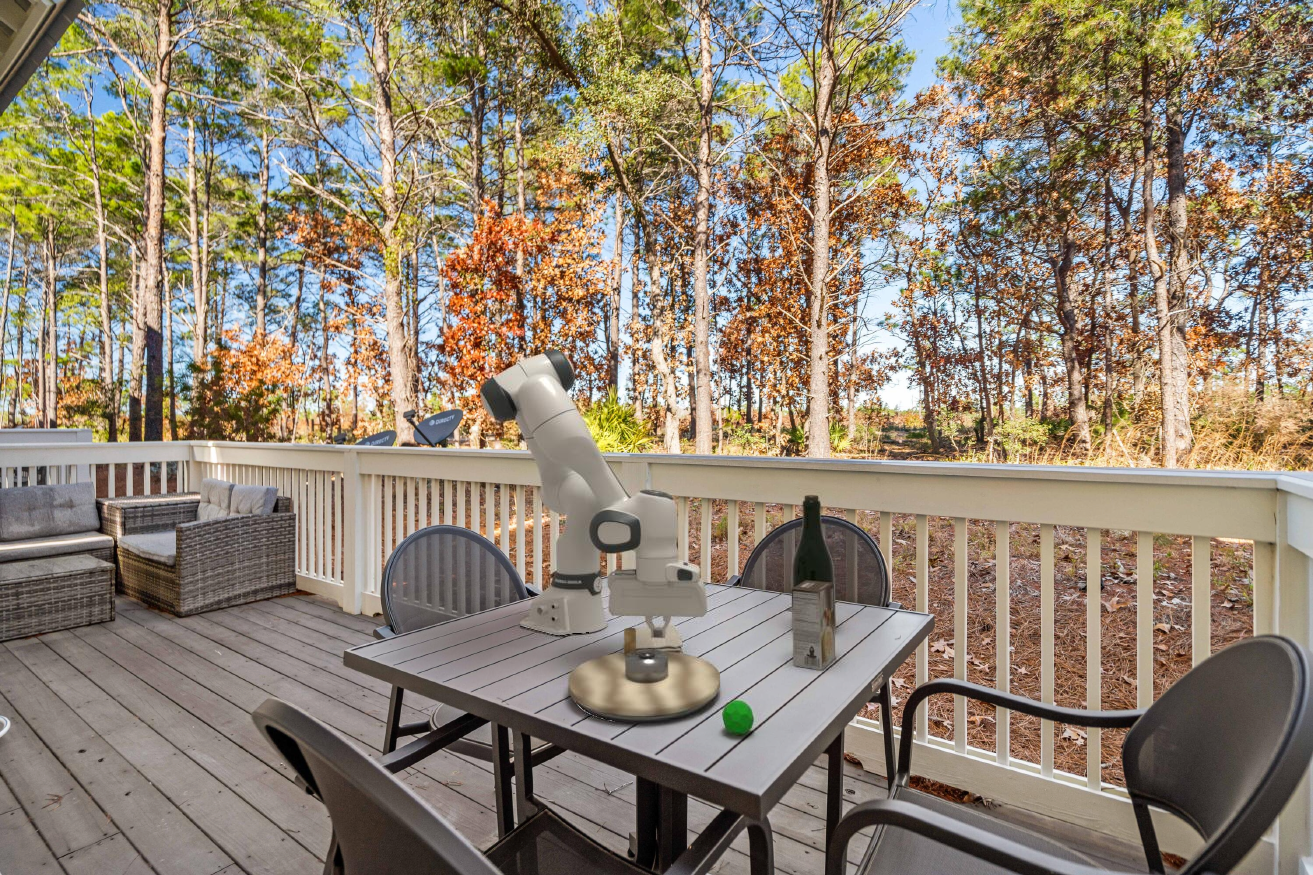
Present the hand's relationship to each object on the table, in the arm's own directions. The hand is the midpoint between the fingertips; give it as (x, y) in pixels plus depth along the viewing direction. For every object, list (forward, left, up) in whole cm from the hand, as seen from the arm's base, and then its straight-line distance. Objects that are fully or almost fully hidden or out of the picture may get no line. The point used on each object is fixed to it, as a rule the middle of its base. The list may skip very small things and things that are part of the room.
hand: (658, 637), depth 129 cm
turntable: (+3, -12, -5) cm, 13 cm away
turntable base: (+3, -12, -7) cm, 14 cm away
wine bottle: (+23, +39, -7) cm, 46 cm away
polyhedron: (+24, -20, -7) cm, 32 cm away
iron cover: (+3, -12, -3) cm, 13 cm away
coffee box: (+28, +17, -7) cm, 33 cm away
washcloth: (-8, +14, -7) cm, 17 cm away
